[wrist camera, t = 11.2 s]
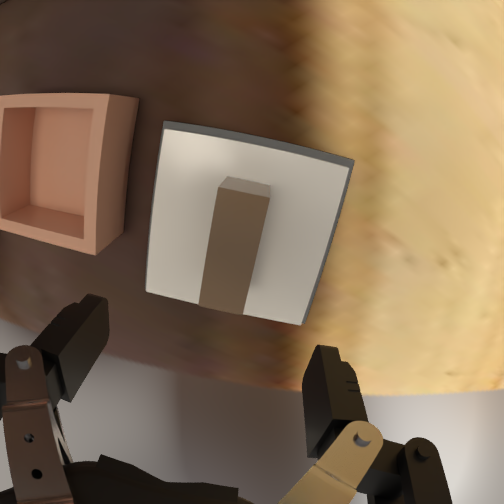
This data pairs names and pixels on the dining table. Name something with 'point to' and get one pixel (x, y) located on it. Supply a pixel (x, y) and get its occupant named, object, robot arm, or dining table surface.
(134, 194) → the dining table surface
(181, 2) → the dining table surface
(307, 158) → the lid
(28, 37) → the dining table surface
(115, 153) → the dish
